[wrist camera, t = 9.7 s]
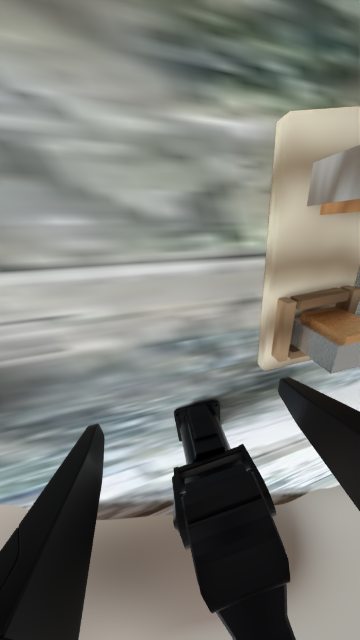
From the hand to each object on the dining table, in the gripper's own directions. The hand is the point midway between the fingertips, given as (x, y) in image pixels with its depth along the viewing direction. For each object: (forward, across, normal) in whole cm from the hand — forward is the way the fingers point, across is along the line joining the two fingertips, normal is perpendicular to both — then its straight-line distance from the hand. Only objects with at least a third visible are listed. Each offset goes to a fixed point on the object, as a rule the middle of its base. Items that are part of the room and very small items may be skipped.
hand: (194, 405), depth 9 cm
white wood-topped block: (+10, -16, +4) cm, 20 cm away
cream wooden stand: (+12, -16, -2) cm, 20 cm away
